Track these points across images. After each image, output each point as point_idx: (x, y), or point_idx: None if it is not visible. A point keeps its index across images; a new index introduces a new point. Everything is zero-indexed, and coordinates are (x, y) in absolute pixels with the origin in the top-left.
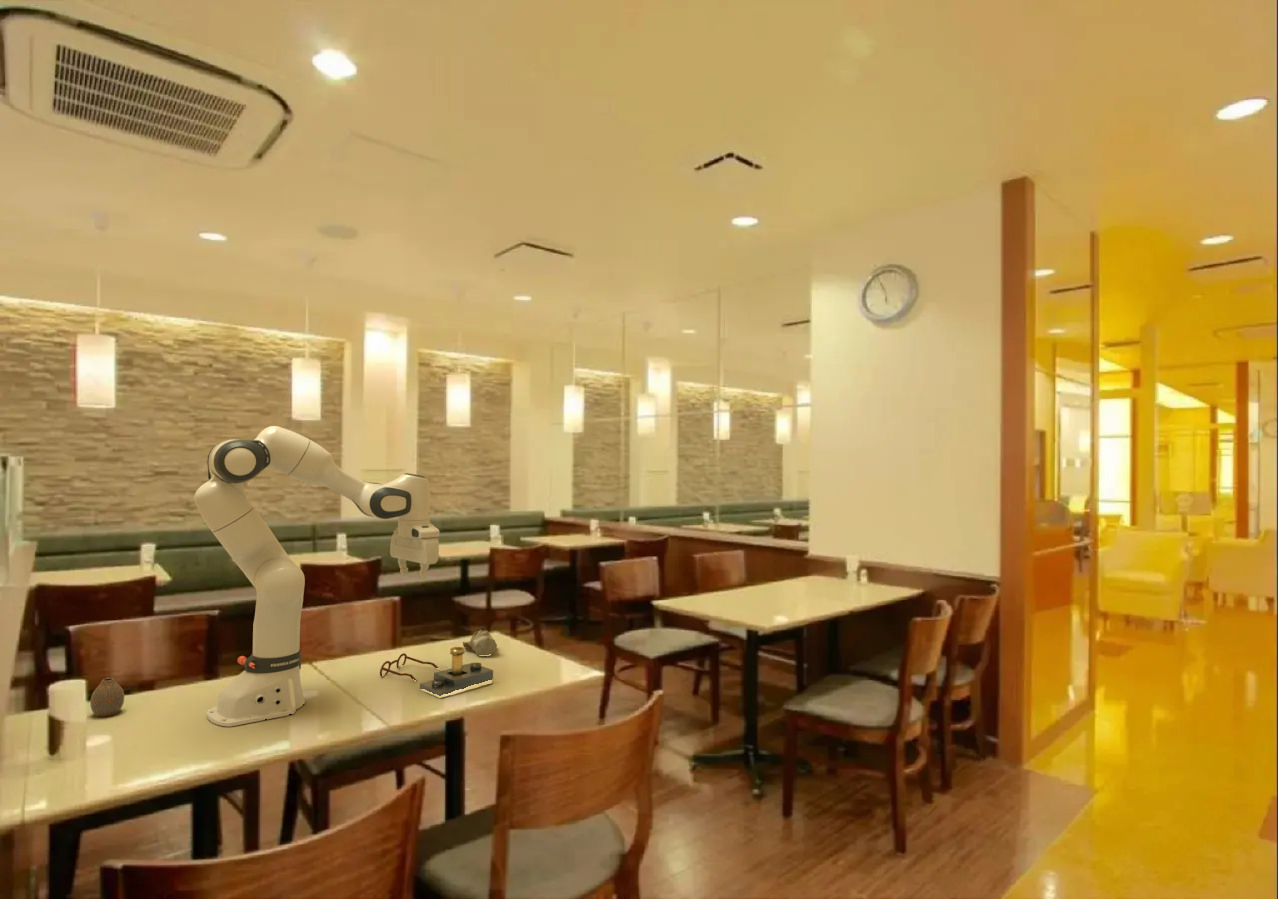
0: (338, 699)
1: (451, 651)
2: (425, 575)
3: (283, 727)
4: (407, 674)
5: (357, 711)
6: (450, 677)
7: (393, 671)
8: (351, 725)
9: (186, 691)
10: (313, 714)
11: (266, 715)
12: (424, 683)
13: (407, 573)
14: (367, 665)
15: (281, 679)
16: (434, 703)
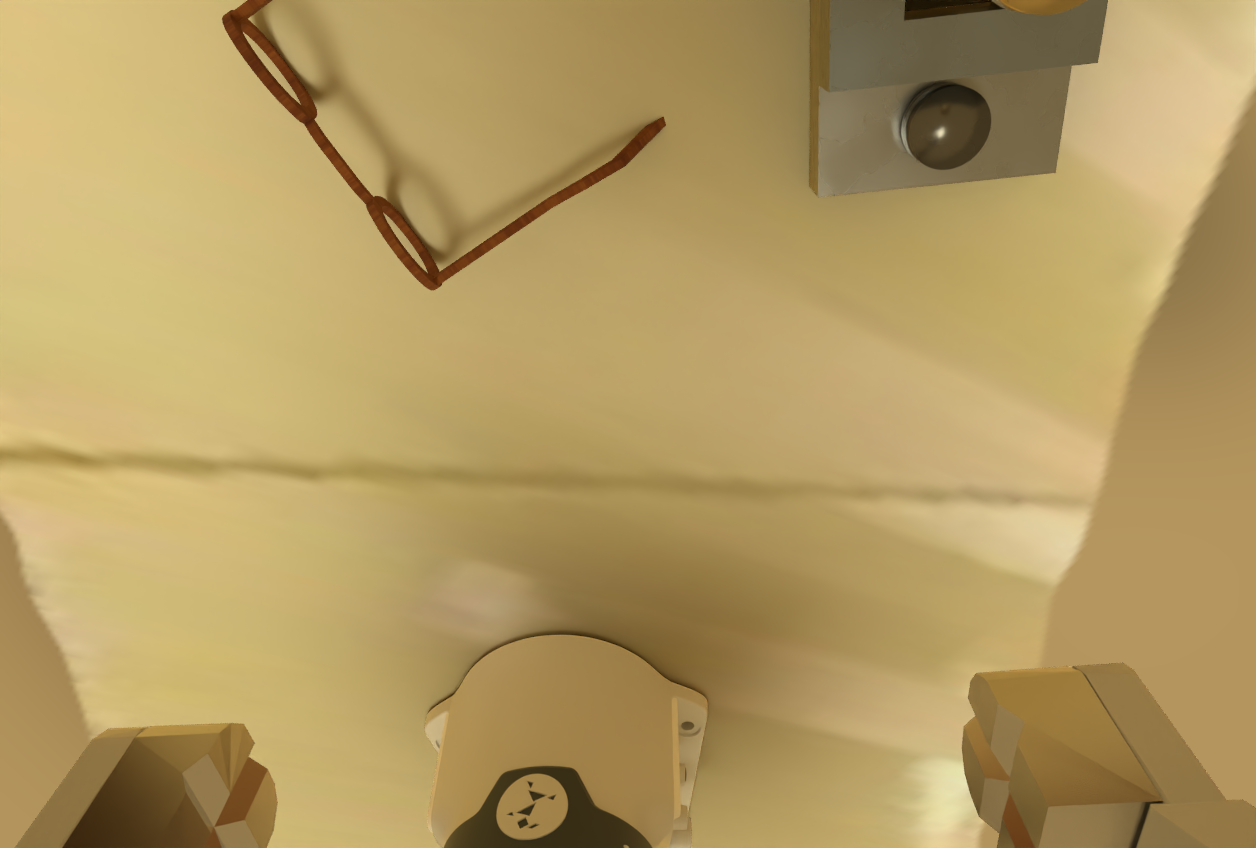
0: (647, 537)
1: (1043, 14)
2: (1162, 727)
3: (803, 741)
4: (601, 179)
5: (853, 532)
6: (1018, 47)
7: (507, 235)
8: (979, 598)
9: None
10: (753, 650)
11: (693, 771)
12: (843, 175)
13: (234, 727)
14: (134, 224)
15: (668, 842)
16: (1063, 222)
